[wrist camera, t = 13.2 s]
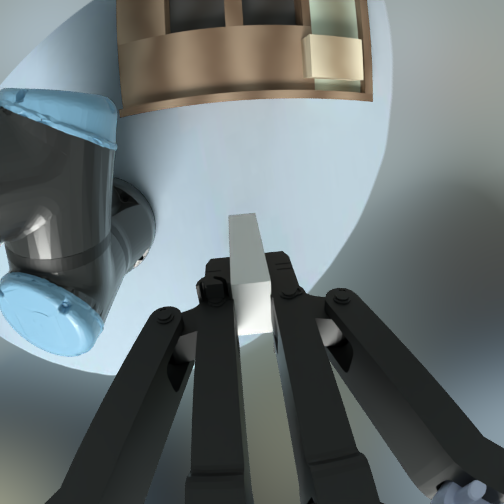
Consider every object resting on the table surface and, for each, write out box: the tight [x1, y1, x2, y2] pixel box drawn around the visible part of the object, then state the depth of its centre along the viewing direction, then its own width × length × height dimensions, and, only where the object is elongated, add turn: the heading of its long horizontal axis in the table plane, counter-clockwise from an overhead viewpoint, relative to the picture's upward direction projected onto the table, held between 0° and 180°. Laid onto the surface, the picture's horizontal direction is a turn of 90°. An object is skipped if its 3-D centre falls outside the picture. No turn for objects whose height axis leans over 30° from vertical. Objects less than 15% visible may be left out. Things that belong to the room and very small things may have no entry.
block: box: [301, 34, 363, 81], centre depth 27 cm, size 6×5×4 cm
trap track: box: [116, 0, 373, 118], centre depth 28 cm, size 30×18×6 cm, turn 94°
